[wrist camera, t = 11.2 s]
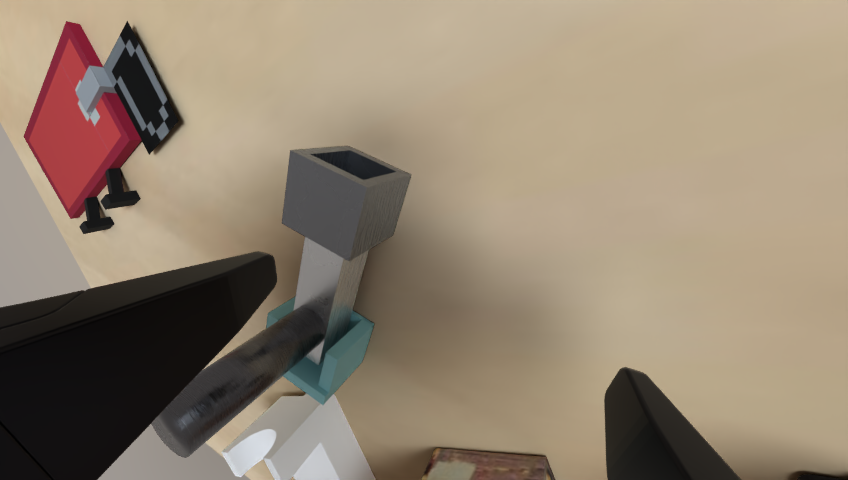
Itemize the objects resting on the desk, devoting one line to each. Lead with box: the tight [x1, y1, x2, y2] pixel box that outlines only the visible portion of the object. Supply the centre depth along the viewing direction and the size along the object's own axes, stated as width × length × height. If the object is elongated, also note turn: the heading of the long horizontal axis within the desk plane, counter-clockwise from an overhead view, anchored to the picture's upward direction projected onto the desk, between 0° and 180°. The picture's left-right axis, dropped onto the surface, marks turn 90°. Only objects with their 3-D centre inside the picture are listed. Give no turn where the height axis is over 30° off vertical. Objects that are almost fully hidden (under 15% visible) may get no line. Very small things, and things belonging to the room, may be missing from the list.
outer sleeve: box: [282, 146, 411, 261], centre depth 19 cm, size 4×5×5 cm
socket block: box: [266, 296, 374, 405], centre depth 25 cm, size 4×6×5 cm
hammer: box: [151, 237, 369, 458], centre depth 18 cm, size 12×3×12 cm, turn 161°
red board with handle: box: [24, 21, 178, 234], centre depth 33 cm, size 30×3×15 cm
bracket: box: [222, 393, 376, 480], centre depth 30 cm, size 13×7×8 cm, turn 24°
